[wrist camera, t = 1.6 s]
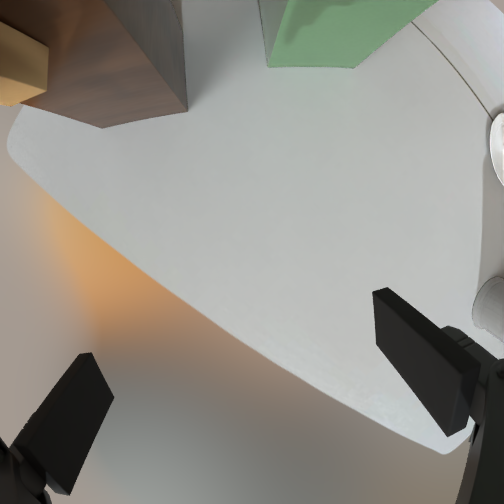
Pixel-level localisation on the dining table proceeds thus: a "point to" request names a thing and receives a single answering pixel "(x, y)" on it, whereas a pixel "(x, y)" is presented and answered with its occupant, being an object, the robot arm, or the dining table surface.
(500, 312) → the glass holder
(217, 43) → the dining table surface
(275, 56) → the green stand
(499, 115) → the candle holder
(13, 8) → the stand
